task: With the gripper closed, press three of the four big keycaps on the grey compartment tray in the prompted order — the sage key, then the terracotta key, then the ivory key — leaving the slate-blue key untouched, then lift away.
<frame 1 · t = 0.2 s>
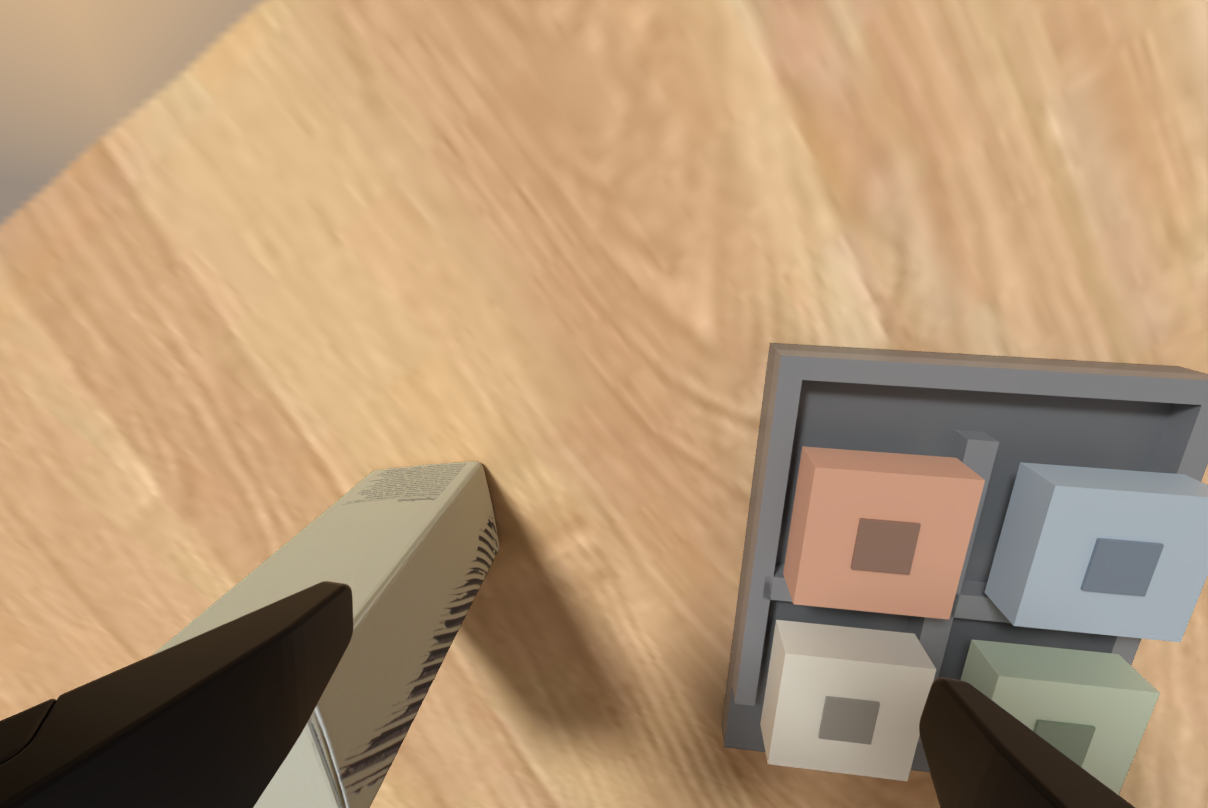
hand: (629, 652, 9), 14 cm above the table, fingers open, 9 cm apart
key sage: (1042, 723, 20), point 4 cm above the table, slide at 0.0 cm
key terracotta: (875, 532, 19), point 4 cm above the table, slide at 0.0 cm
grey compartment tray: (917, 571, 23), on the table
box: (443, 504, 25), on the table
key ivory: (841, 700, 21), point 4 cm above the table, slide at 0.0 cm
key slate: (1100, 551, 18), point 4 cm above the table, slide at 0.0 cm
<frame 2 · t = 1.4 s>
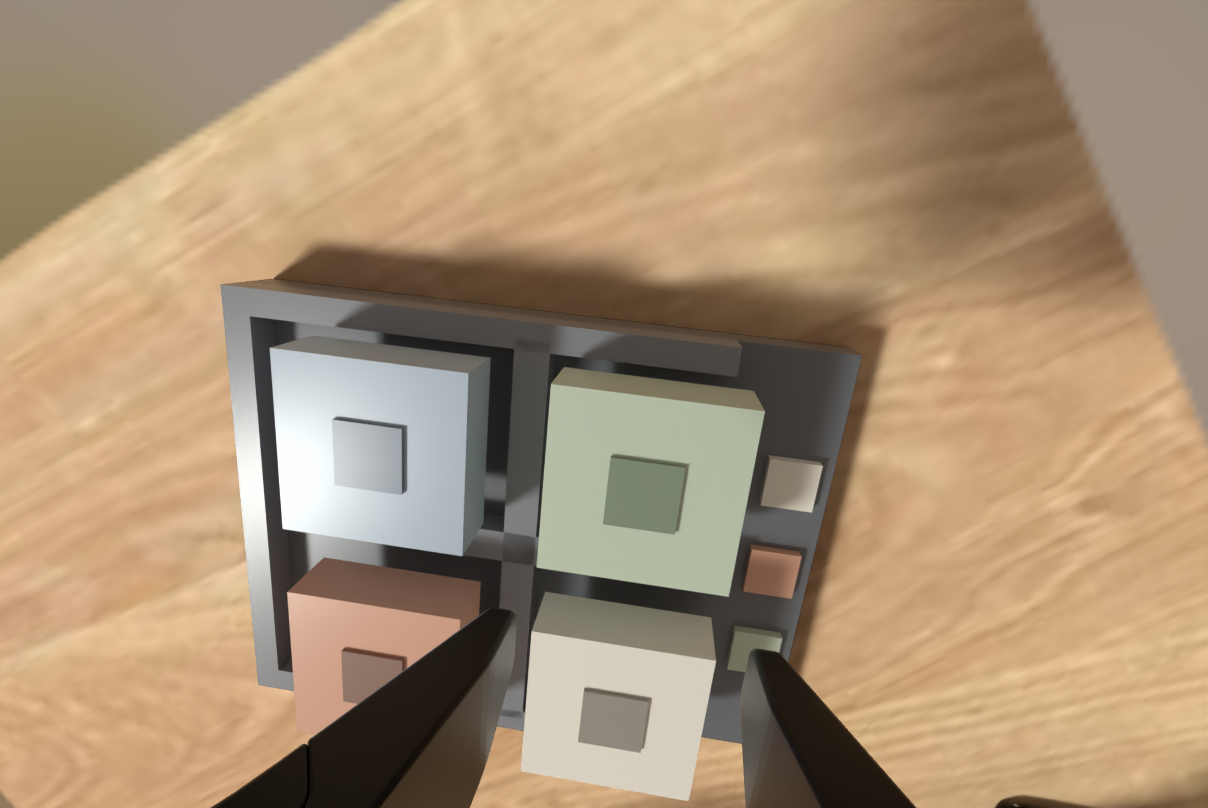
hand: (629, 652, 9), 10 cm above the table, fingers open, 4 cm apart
key sage: (644, 480, 15), point 4 cm above the table, slide at 0.0 cm
key terracotta: (387, 658, 17), point 4 cm above the table, slide at 0.0 cm
grey compartment tray: (534, 515, 20), on the table
key ivory: (615, 696, 17), point 4 cm above the table, slide at 0.0 cm
key slate: (385, 444, 15), point 4 cm above the table, slide at 0.0 cm
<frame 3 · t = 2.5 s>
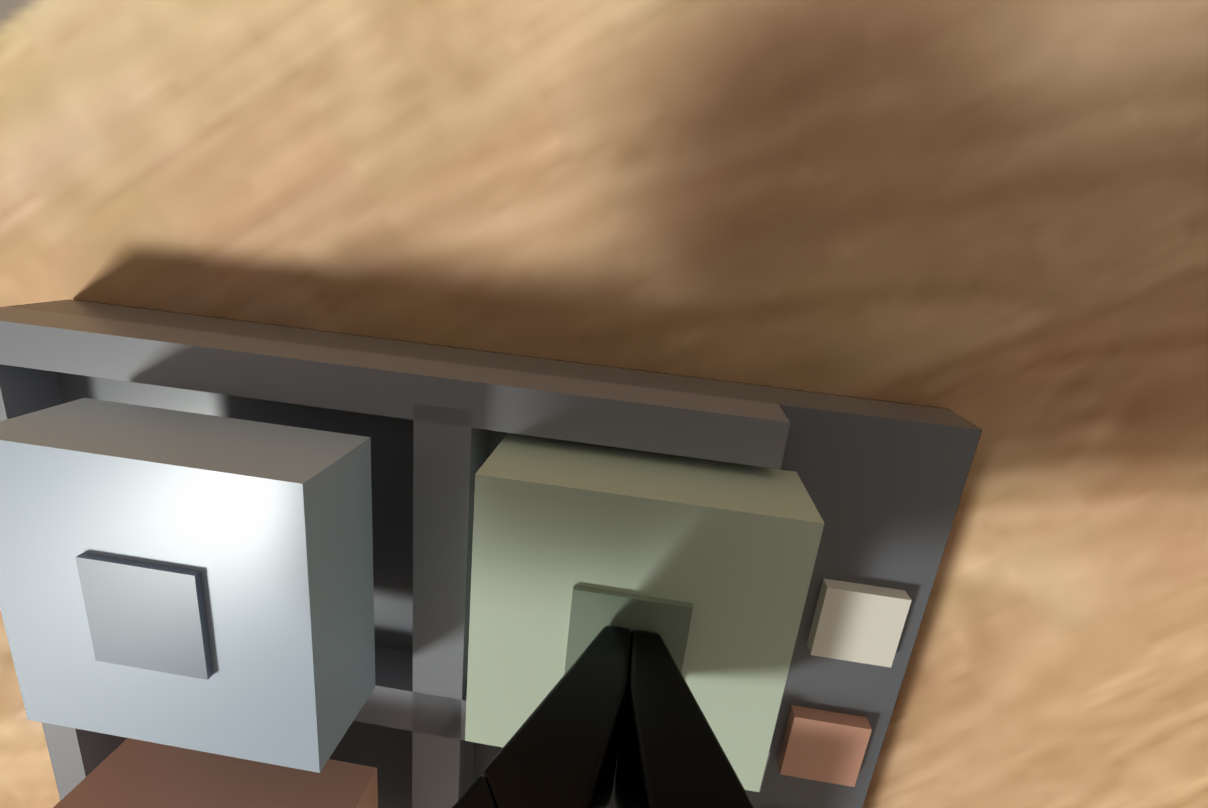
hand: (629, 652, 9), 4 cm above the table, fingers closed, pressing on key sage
key sage: (629, 609, 10), point 3 cm above the table, slide at -1.0 cm, touching gripper
grey compartment tray: (472, 640, 13), on the table
key slate: (195, 581, 9), point 4 cm above the table, slide at 0.0 cm
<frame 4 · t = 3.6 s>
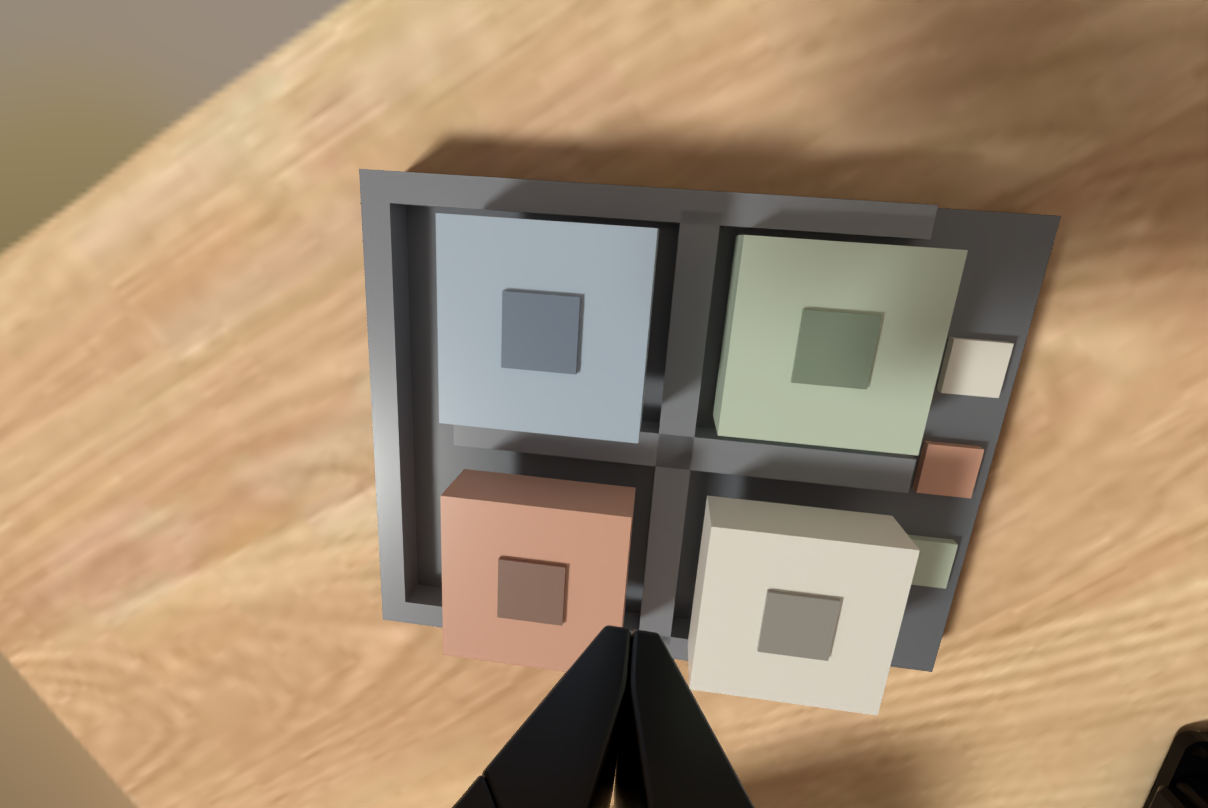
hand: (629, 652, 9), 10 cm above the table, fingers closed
key sage: (825, 343, 15), point 2 cm above the table, slide at -1.2 cm
key terracotta: (538, 572, 16), point 4 cm above the table, slide at 0.0 cm
grey compartment tray: (674, 427, 18), on the table
key ivory: (790, 604, 16), point 4 cm above the table, slide at 0.0 cm
key slate: (548, 327, 14), point 4 cm above the table, slide at 0.0 cm
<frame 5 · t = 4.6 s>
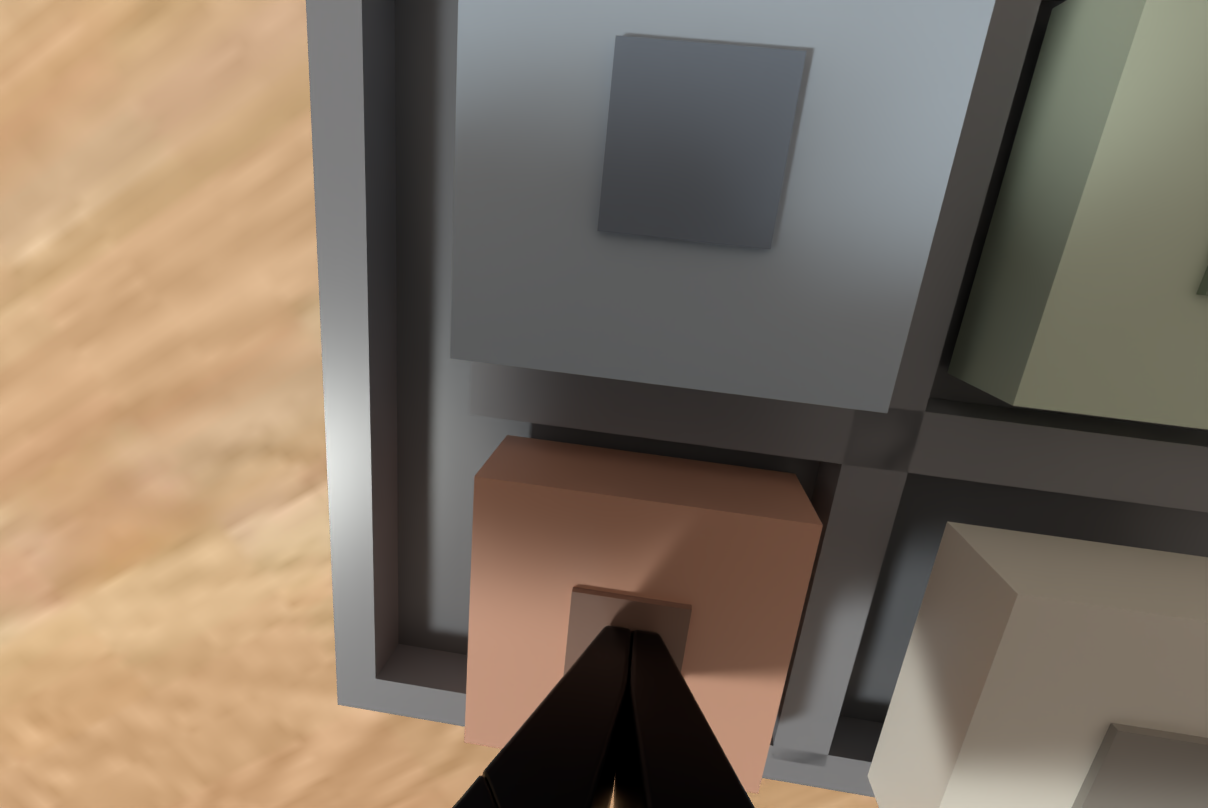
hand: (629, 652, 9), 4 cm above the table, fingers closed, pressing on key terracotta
key terracotta: (628, 610, 10), point 3 cm above the table, slide at -1.1 cm, touching gripper
grey compartment tray: (840, 398, 11), on the table
key ivory: (1110, 734, 8), point 4 cm above the table, slide at 0.0 cm
key slate: (691, 158, 7), point 4 cm above the table, slide at 0.0 cm
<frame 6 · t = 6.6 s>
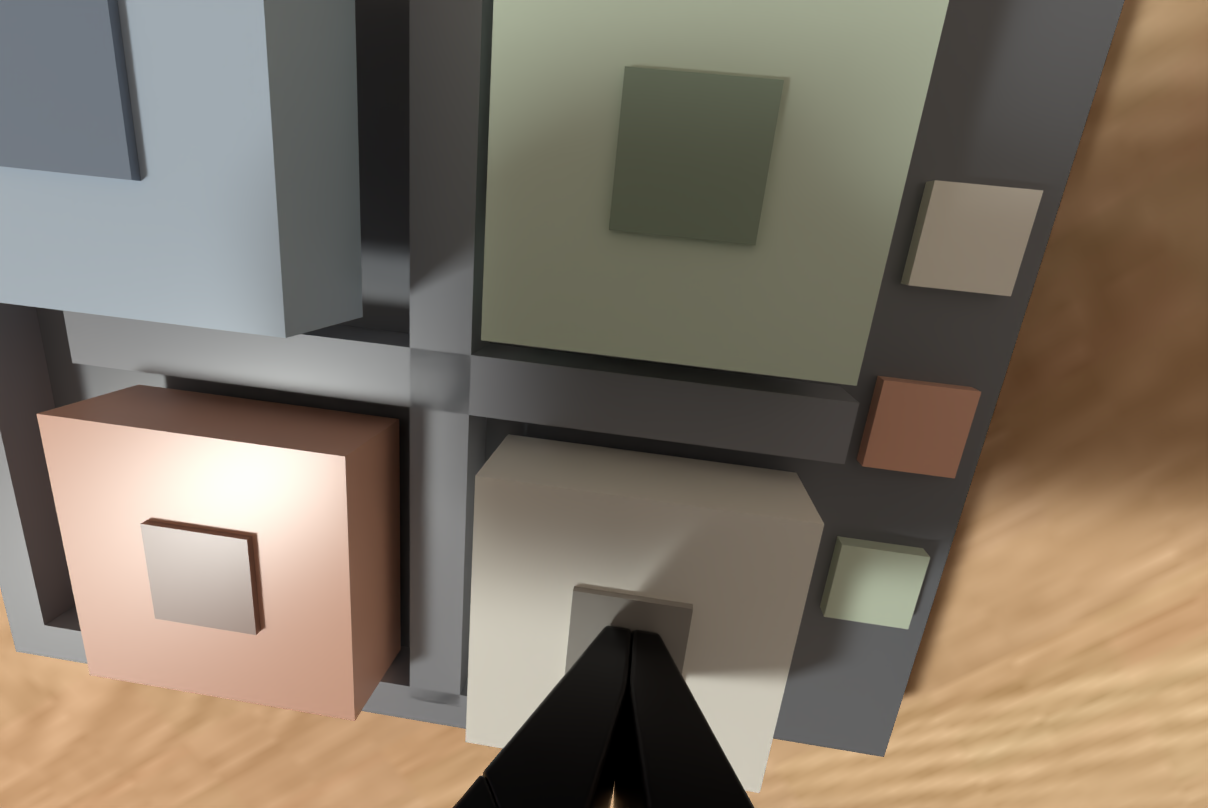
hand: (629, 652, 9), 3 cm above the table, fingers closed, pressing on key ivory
key sage: (689, 167, 8), point 2 cm above the table, slide at -1.2 cm
key terracotta: (241, 549, 10), point 2 cm above the table, slide at -1.2 cm
grey compartment tray: (481, 354, 11), on the table
key ivory: (629, 610, 10), point 3 cm above the table, slide at -1.2 cm, touching gripper
key slate: (122, 101, 7), point 4 cm above the table, slide at 0.0 cm
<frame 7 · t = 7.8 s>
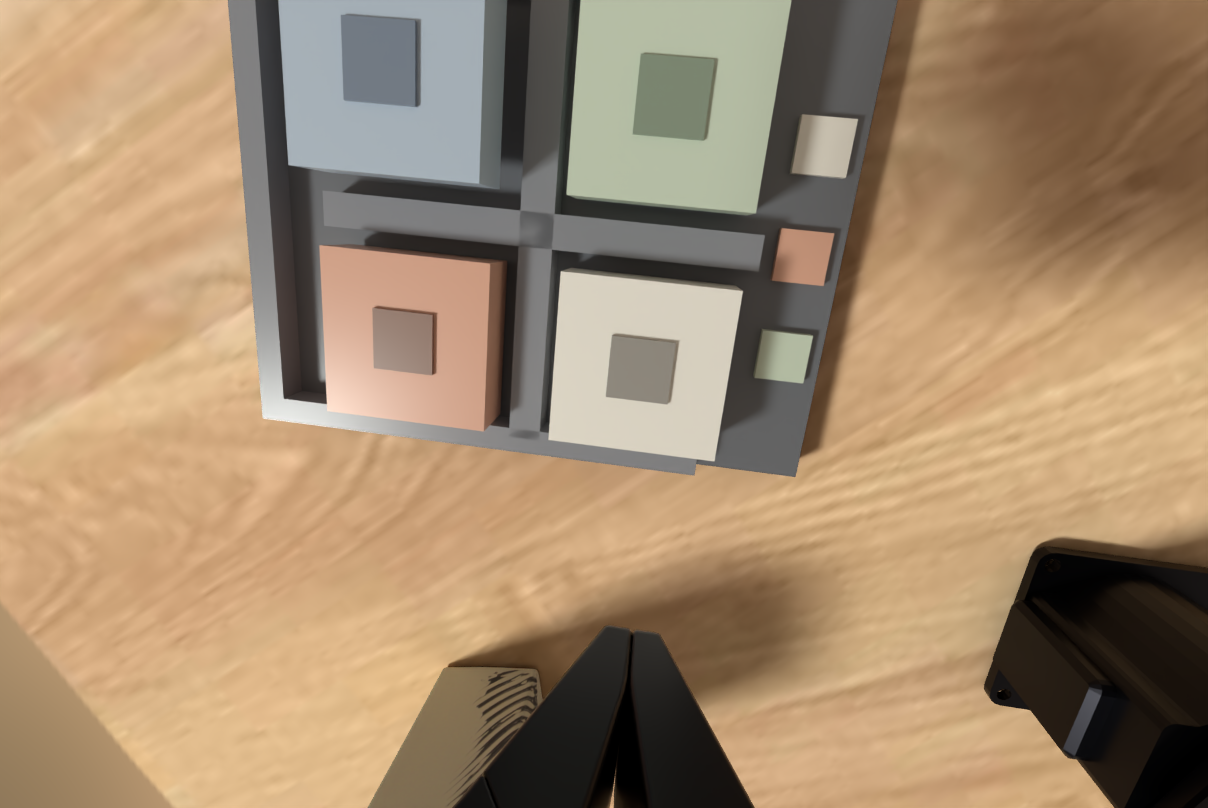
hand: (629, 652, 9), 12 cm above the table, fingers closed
key sage: (672, 105, 15), point 2 cm above the table, slide at -1.2 cm
key terracotta: (416, 336, 18), point 2 cm above the table, slide at -1.2 cm
grey compartment tray: (550, 230, 19), on the table
box: (497, 705, 25), on the table
key ivory: (641, 363, 17), point 2 cm above the table, slide at -1.2 cm
key slate: (396, 72, 14), point 4 cm above the table, slide at 0.0 cm
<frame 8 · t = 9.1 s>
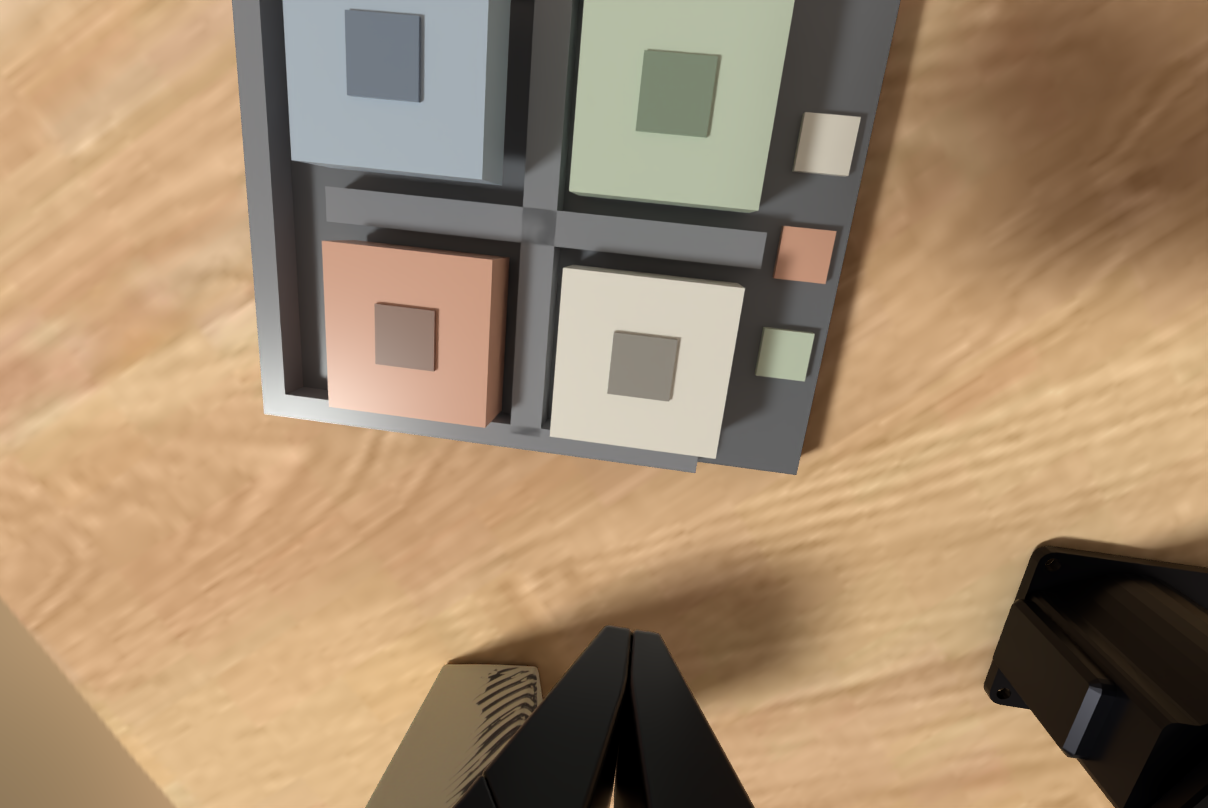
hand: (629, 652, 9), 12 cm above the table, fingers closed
key sage: (675, 102, 15), point 2 cm above the table, slide at -1.2 cm
key terracotta: (418, 332, 18), point 2 cm above the table, slide at -1.2 cm
grey compartment tray: (553, 227, 19), on the table
box: (497, 702, 25), on the table
key ivory: (643, 360, 17), point 2 cm above the table, slide at -1.2 cm
key slate: (400, 67, 14), point 4 cm above the table, slide at 0.0 cm
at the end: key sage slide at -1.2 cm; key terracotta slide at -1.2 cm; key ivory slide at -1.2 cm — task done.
